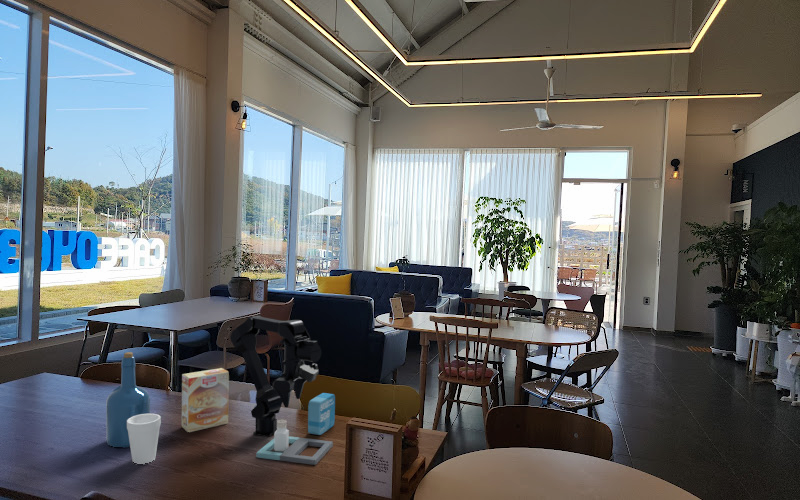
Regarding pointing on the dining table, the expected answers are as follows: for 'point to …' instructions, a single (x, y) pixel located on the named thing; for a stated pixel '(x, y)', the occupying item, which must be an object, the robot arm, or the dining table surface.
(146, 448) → the foam cup
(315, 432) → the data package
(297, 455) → the panel
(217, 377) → the coffeecake box
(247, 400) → the dining table surface
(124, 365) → the wine bottle
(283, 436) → the white salt shaker
